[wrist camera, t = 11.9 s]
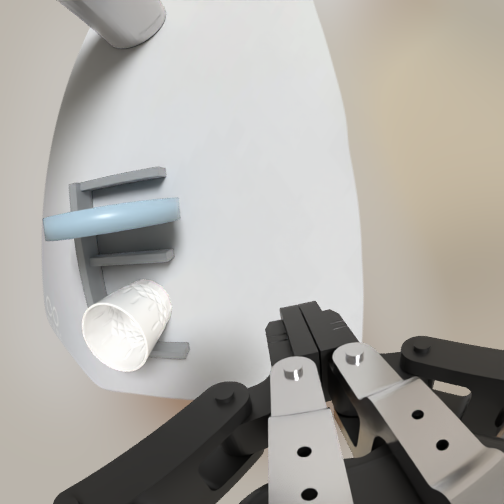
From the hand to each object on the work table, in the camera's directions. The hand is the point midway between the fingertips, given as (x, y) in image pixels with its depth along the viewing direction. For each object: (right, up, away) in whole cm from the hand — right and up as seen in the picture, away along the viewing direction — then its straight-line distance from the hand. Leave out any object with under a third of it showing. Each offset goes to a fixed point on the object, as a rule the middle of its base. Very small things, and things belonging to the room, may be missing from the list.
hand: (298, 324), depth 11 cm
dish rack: (-16, +1, +21) cm, 26 cm away
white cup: (-15, -4, +23) cm, 27 cm away
